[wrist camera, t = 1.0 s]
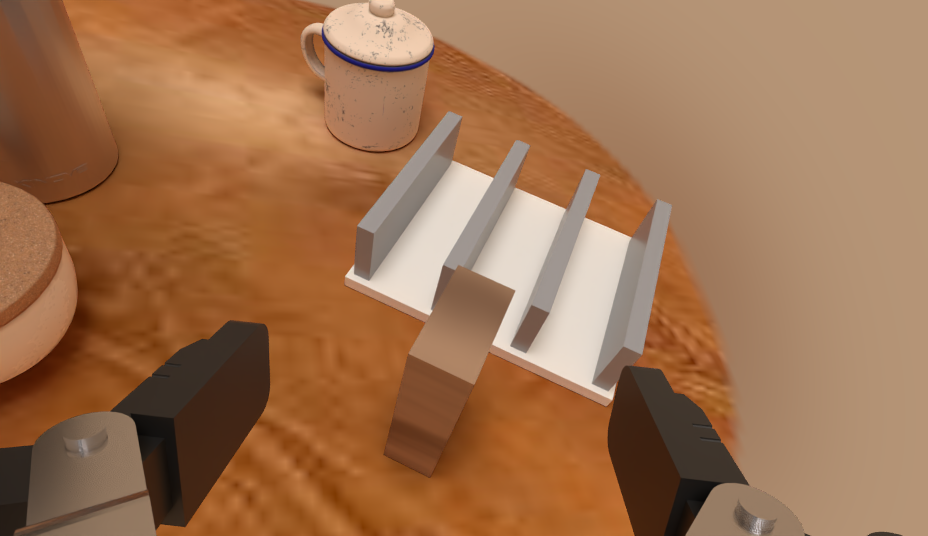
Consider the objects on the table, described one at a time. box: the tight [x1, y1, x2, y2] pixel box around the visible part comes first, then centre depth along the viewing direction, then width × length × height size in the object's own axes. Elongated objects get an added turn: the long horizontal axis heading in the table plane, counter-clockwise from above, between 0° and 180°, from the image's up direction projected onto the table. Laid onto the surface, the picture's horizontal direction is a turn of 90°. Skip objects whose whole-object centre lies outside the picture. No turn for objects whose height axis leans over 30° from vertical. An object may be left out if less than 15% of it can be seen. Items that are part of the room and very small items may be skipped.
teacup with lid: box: [301, 0, 434, 151], centre depth 46 cm, size 12×9×12 cm
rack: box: [345, 111, 672, 406], centre depth 40 cm, size 16×20×6 cm
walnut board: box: [384, 265, 516, 477], centre depth 28 cm, size 6×3×12 cm, turn 158°
